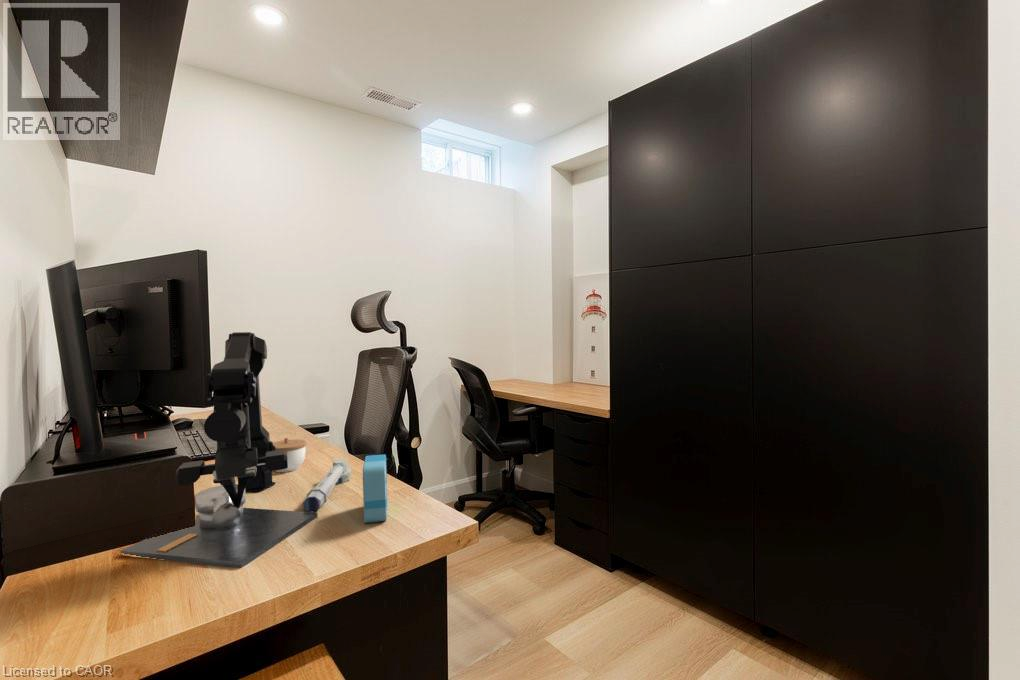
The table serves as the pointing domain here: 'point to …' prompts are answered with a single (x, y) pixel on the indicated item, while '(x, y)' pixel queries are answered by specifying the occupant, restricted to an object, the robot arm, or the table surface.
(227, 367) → the robot arm
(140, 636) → the table surface
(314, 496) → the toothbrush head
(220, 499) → the dryer elbow
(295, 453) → the lidded jar
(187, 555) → the cutting board
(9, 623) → the table surface
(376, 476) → the data package
